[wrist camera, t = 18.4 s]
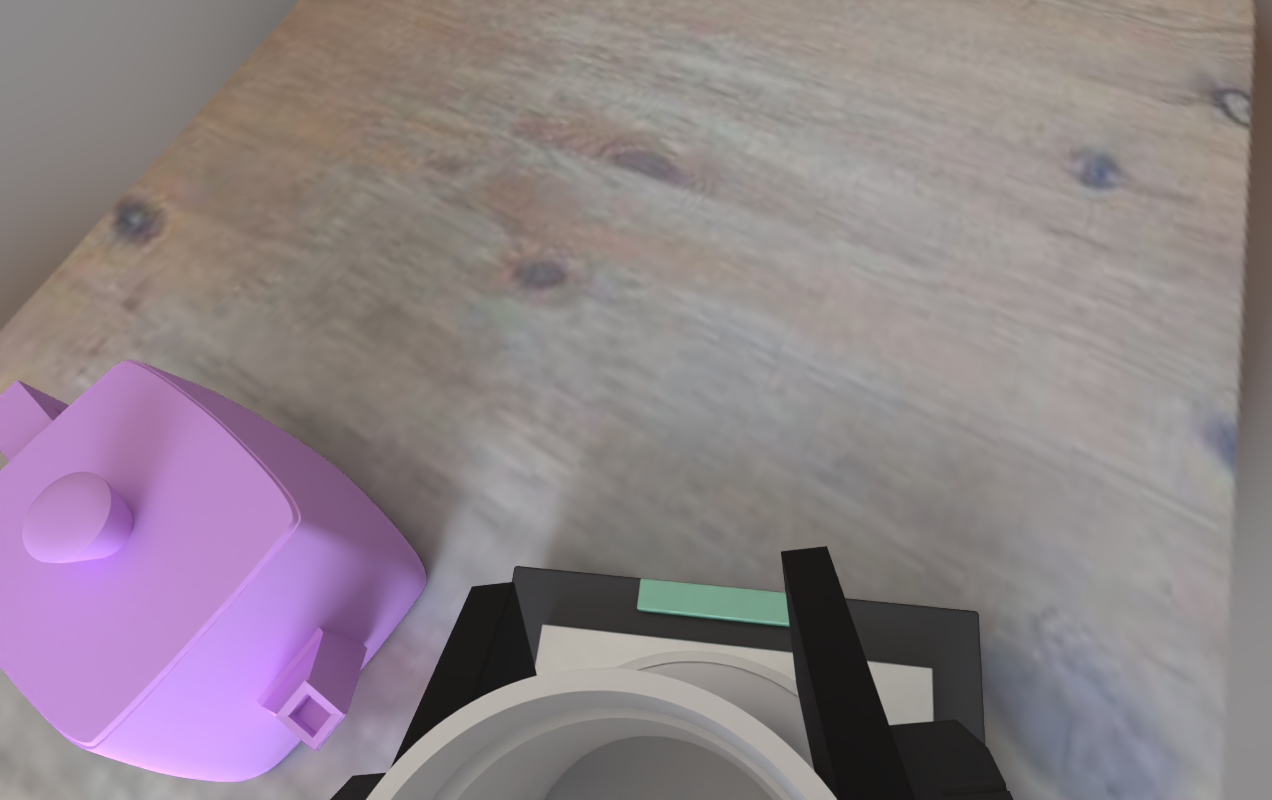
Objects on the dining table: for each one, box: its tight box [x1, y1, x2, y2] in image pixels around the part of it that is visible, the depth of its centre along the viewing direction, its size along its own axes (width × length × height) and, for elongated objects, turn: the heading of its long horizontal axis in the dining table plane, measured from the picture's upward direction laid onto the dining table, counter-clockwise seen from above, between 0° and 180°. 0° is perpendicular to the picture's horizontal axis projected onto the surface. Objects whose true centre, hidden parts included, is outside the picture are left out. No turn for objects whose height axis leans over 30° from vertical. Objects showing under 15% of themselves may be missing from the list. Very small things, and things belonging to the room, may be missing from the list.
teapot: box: [0, 360, 427, 782], centre depth 26 cm, size 18×10×10 cm, turn 52°
